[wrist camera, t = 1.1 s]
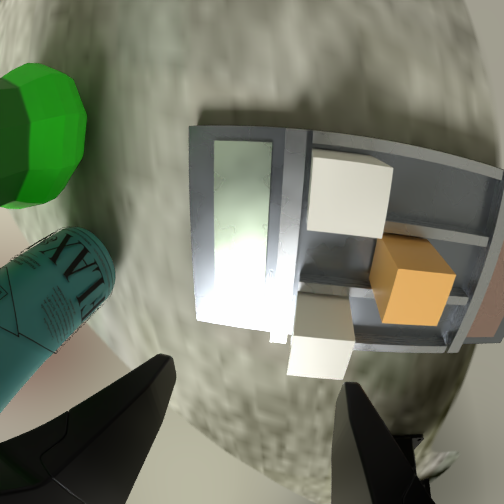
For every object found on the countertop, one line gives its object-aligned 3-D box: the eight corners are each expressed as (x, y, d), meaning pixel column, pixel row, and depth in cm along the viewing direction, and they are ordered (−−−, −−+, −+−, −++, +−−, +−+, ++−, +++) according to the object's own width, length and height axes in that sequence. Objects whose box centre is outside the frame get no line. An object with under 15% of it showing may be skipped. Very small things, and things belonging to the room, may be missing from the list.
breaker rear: (339, 331, 18) (342, 379, 14) (292, 326, 18) (286, 374, 15) (348, 294, 17) (355, 341, 13) (298, 289, 17) (293, 335, 14)
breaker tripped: (414, 282, 16) (436, 326, 12) (368, 278, 16) (381, 323, 12) (426, 238, 15) (456, 274, 11) (378, 232, 15) (398, 268, 11)
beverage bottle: (140, 289, 22) (-27, 506, 4) (83, 292, 23) (-63, 452, 5) (111, 207, 19) (-130, 397, 1) (56, 224, 21) (-128, 365, 3)
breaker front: (364, 208, 15) (381, 238, 11) (307, 201, 15) (306, 230, 11) (371, 155, 13) (393, 167, 10) (312, 148, 14) (313, 156, 10)
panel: (494, 333, 18) (505, 350, 16) (202, 310, 21) (192, 329, 19) (545, 185, 12) (563, 193, 10) (196, 125, 16) (181, 126, 14)
